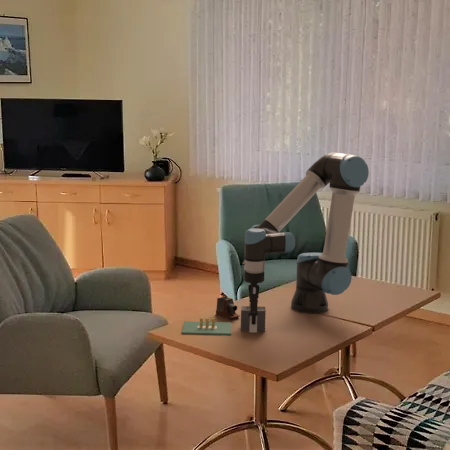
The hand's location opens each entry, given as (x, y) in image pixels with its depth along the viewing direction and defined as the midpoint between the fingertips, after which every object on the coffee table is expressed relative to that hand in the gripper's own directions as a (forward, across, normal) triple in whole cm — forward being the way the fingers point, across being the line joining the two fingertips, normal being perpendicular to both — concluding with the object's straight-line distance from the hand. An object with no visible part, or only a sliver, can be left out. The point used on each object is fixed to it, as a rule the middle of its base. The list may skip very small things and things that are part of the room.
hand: (252, 325), depth 254 cm
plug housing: (+1, 0, 0) cm, 1 cm away
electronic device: (+2, -14, -10) cm, 17 cm away
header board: (+1, +1, -17) cm, 17 cm away
